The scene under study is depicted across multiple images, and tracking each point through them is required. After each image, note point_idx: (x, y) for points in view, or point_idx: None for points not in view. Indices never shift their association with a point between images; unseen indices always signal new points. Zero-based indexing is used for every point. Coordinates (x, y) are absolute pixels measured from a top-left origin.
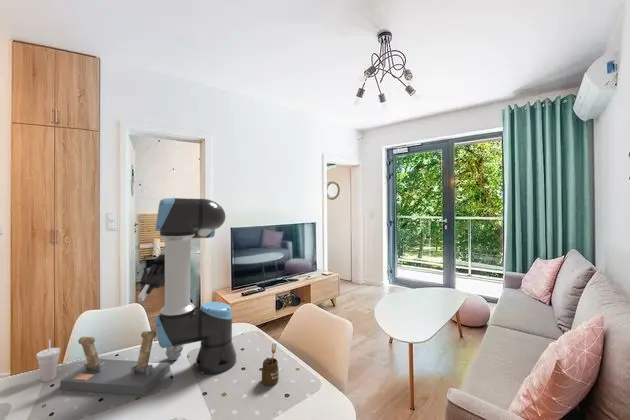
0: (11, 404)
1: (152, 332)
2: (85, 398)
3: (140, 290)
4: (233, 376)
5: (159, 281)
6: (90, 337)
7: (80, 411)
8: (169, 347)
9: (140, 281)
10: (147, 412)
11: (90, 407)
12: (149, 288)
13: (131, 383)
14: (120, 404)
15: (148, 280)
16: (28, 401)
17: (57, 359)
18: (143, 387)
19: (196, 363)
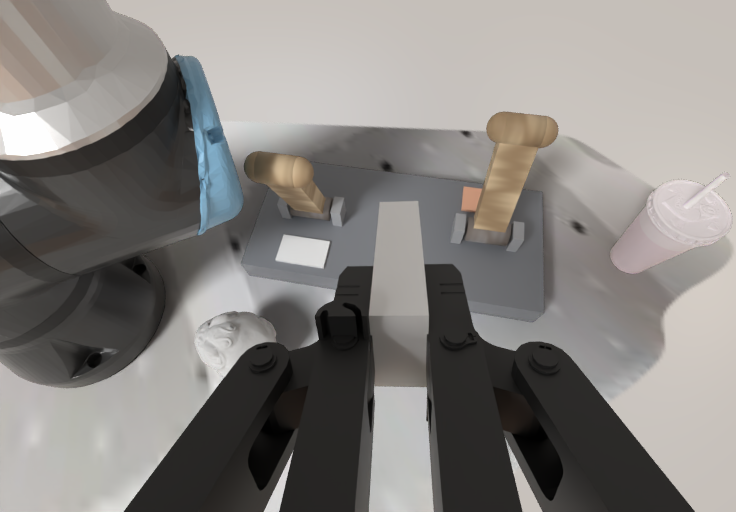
0: (598, 161)
1: (254, 153)
2: (429, 171)
3: (453, 271)
4: None
5: (216, 395)
6: (506, 115)
7: (406, 135)
8: (253, 324)
9: (582, 375)
10: (254, 126)
11: (392, 144)
12: (354, 299)
13: (319, 169)
14: (328, 149)
15: (441, 409)
16: (567, 169)
17: (641, 231)
18: None
19: (151, 269)
